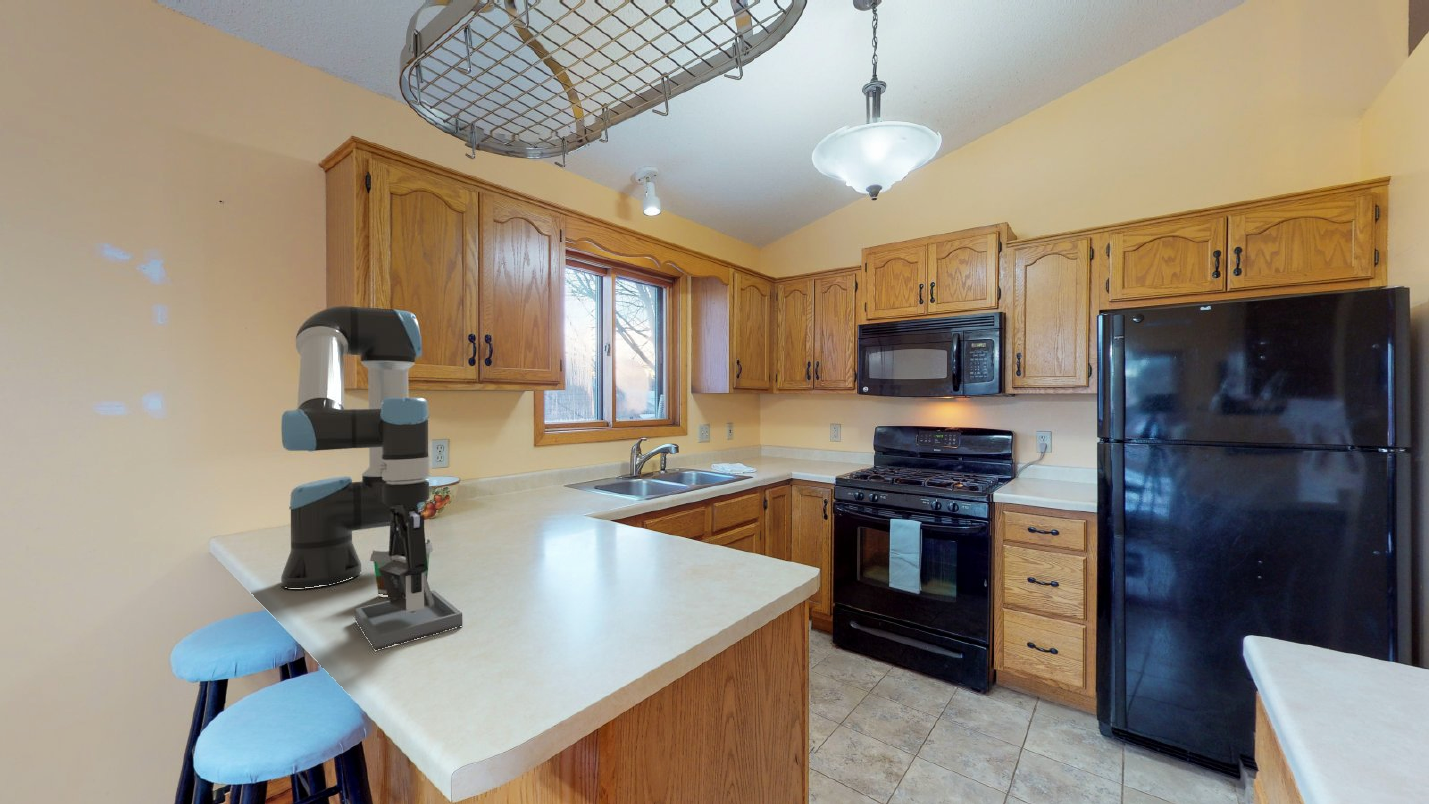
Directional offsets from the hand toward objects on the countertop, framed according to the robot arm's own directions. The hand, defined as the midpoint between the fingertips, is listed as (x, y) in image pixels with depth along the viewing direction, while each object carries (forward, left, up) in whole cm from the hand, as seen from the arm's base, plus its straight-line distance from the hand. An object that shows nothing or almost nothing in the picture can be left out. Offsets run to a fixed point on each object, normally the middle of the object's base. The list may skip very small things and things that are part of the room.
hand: (407, 602), depth 98 cm
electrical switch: (+1, 0, -1) cm, 1 cm away
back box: (0, 0, -4) cm, 4 cm away
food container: (-19, +5, -4) cm, 20 cm away
